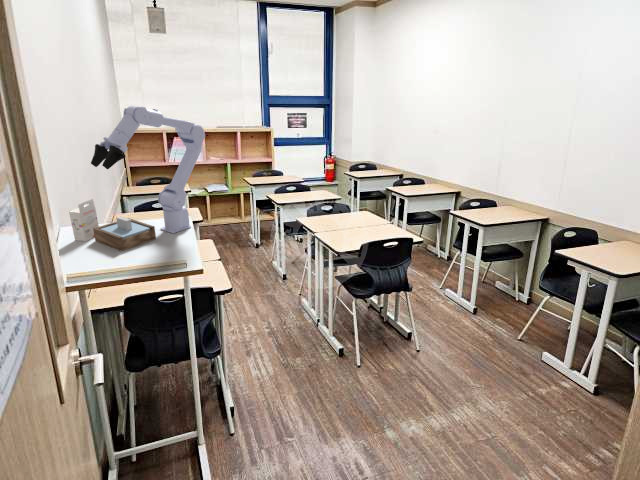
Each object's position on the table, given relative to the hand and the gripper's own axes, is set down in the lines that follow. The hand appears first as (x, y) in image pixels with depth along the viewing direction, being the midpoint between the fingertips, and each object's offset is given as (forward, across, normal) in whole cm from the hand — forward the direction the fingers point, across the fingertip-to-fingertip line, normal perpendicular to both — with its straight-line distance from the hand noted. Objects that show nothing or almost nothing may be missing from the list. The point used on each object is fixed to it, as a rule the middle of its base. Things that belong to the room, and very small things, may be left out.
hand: (99, 166), depth 146 cm
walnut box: (+15, -7, +28) cm, 32 cm away
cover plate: (+12, -6, +25) cm, 28 cm away
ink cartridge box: (+20, -20, +22) cm, 36 cm away
